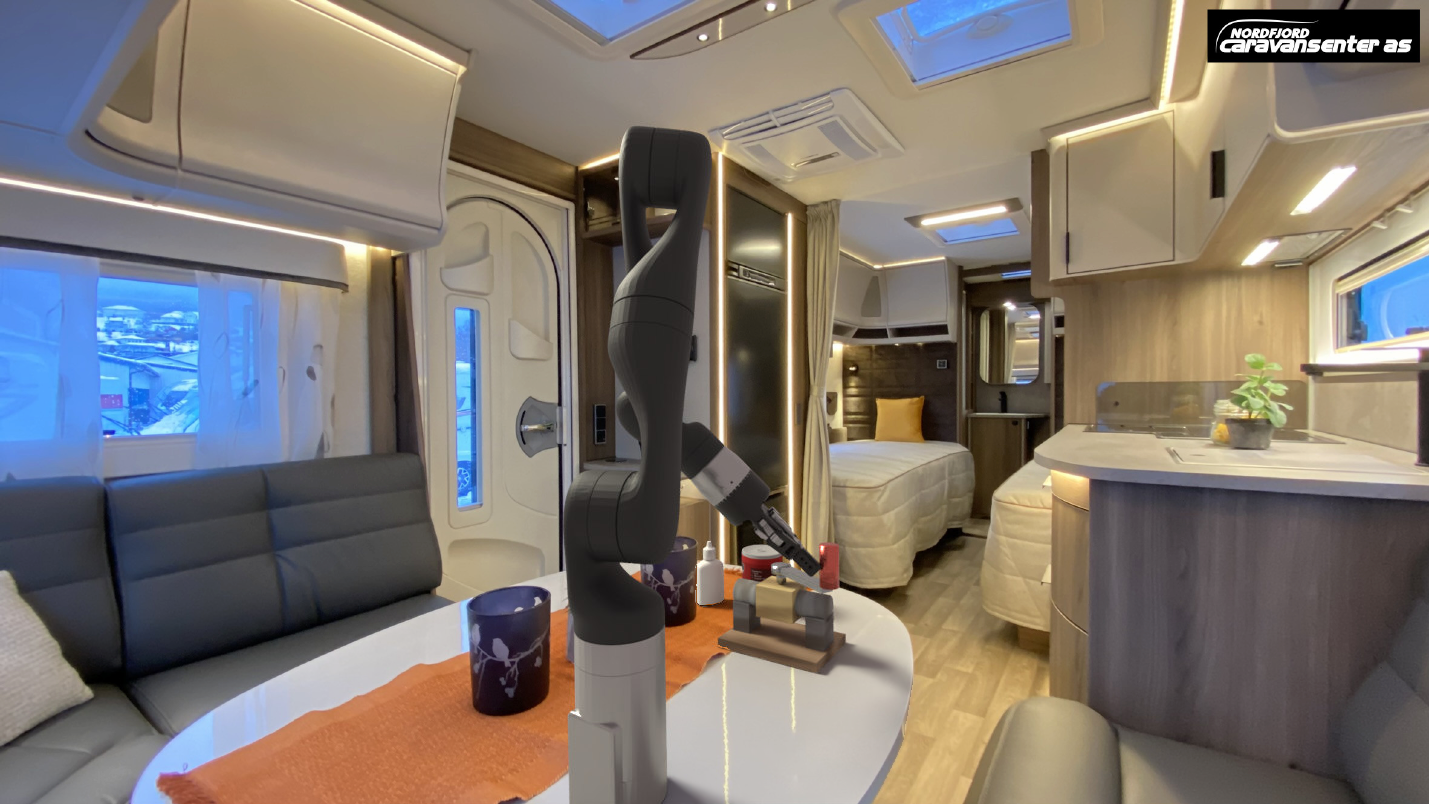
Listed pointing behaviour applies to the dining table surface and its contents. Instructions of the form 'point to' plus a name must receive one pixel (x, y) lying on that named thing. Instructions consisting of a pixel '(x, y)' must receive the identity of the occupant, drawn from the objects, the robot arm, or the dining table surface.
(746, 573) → the canned food
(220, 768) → the dining table surface
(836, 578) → the valve lever
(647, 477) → the robot arm
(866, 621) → the dining table surface
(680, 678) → the dining table surface
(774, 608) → the valve stand
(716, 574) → the eye dropper bottle
